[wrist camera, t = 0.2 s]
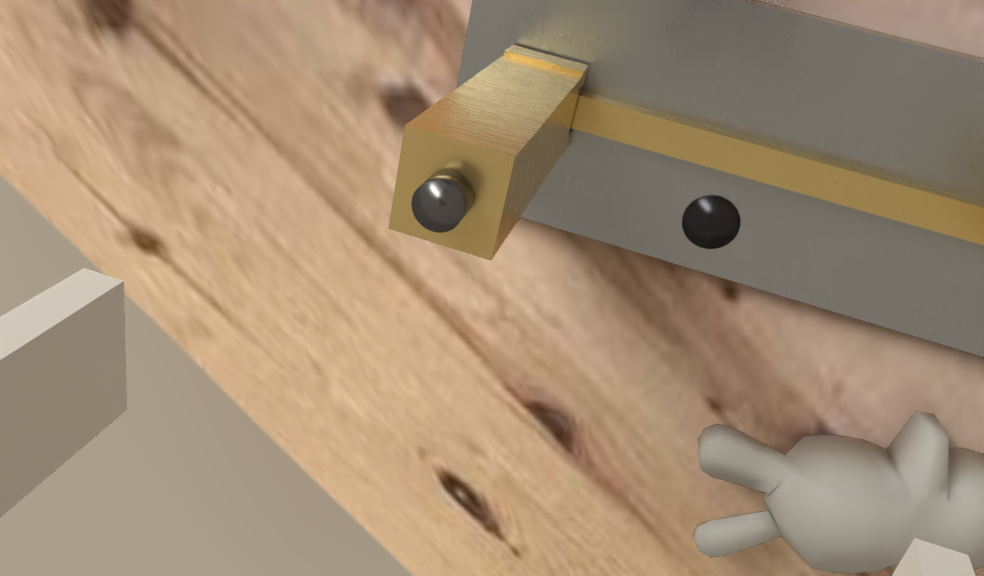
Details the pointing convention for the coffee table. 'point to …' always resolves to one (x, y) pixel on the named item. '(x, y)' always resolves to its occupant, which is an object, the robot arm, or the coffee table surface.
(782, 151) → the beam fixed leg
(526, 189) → the sliding leg
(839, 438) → the bunny figurine
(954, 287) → the steel plate
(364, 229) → the coffee table surface
